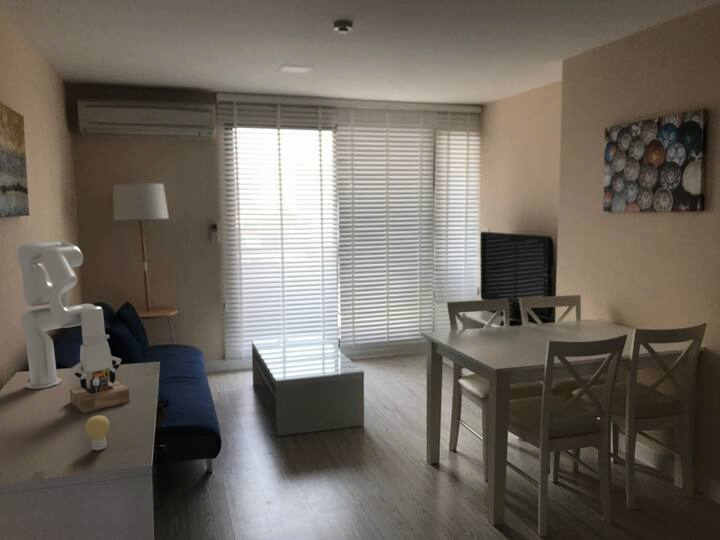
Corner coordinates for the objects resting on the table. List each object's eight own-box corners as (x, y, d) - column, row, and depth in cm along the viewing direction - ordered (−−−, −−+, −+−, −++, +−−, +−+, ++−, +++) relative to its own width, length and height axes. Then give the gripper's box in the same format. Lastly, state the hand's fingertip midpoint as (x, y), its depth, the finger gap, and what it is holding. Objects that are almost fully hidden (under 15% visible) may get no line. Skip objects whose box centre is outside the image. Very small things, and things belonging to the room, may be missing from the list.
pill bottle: (102, 404, 207) (99, 374, 206) (88, 404, 208) (85, 374, 207) (112, 399, 213) (110, 369, 212) (98, 398, 214) (95, 369, 213)
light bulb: (92, 444, 172) (89, 413, 171) (114, 443, 172) (111, 411, 171) (84, 454, 165) (80, 421, 164) (107, 452, 166) (103, 419, 165)
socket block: (71, 402, 211) (69, 389, 211) (115, 391, 222) (114, 379, 221) (83, 413, 199) (81, 399, 199) (129, 401, 210) (128, 388, 209)
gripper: (115, 334, 216) (119, 378, 218) (65, 343, 205) (70, 389, 207) (122, 337, 211) (126, 382, 213) (71, 346, 199) (76, 393, 201)
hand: (98, 385), depth 210 cm, fingers open, 9 cm apart
